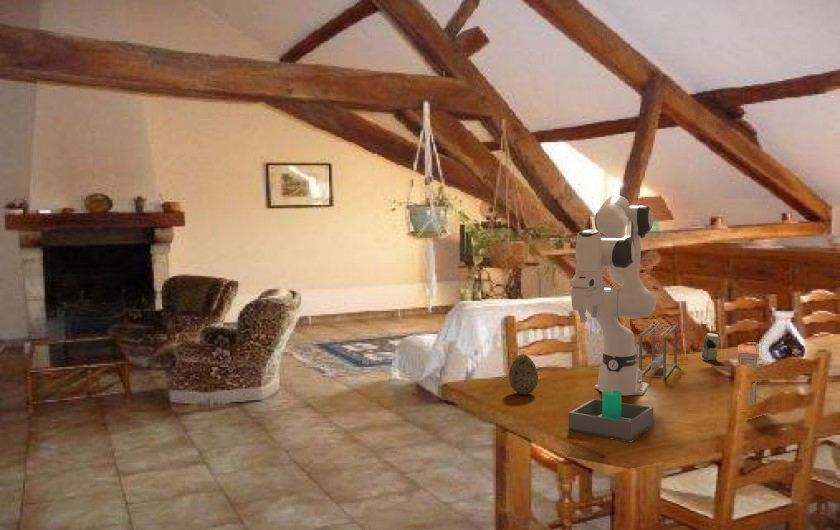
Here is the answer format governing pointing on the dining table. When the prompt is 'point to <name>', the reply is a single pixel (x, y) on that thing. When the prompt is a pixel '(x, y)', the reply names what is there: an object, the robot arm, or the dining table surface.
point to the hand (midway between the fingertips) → (589, 319)
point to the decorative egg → (523, 375)
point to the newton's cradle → (662, 356)
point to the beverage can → (710, 346)
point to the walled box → (611, 421)
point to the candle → (611, 404)
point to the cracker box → (749, 357)
